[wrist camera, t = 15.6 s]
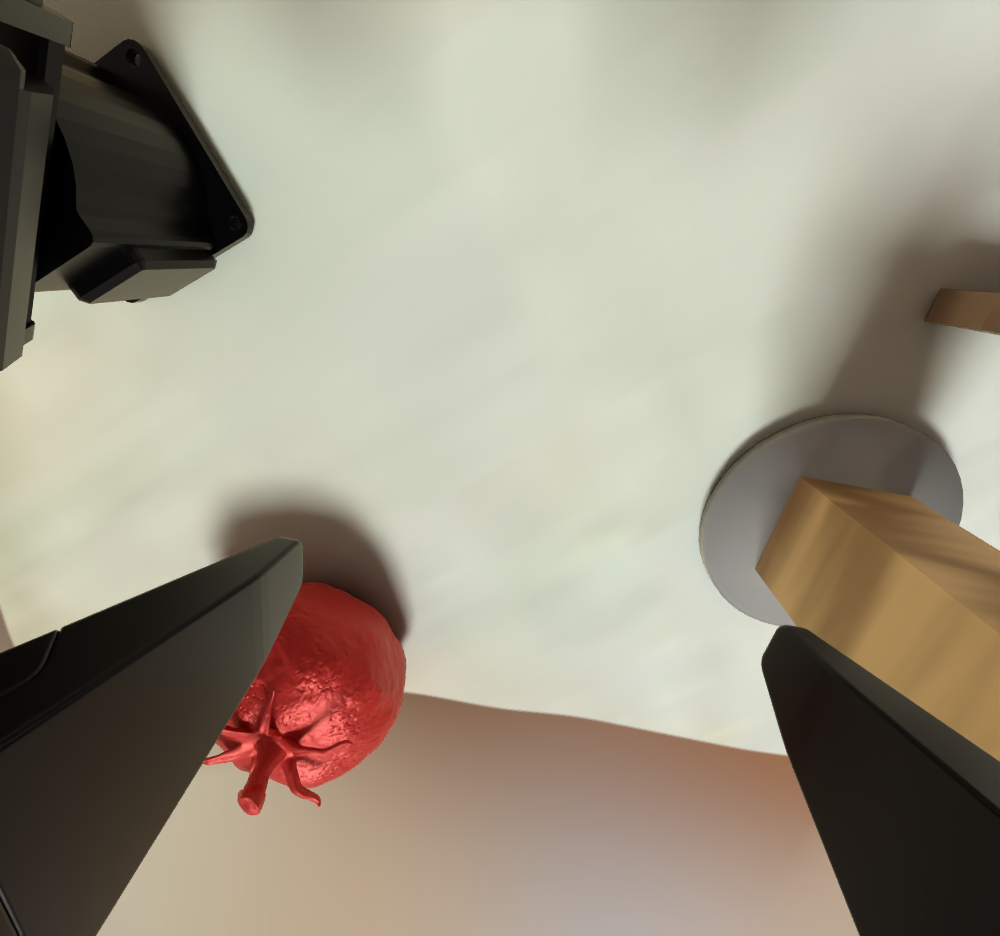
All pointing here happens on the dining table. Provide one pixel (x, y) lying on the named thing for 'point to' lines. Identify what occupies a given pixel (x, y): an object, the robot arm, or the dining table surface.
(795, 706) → the robot arm
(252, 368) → the dining table surface
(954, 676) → the oak block
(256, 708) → the pomegranate
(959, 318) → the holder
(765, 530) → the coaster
